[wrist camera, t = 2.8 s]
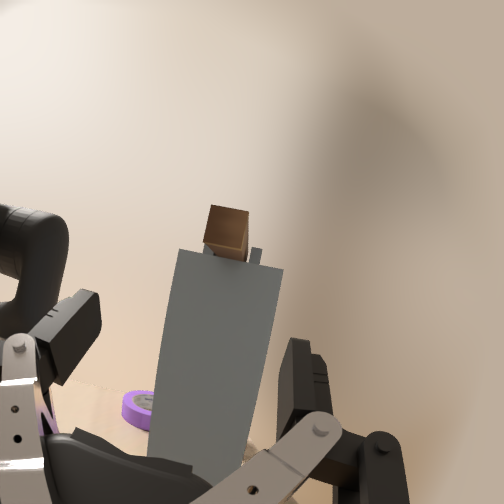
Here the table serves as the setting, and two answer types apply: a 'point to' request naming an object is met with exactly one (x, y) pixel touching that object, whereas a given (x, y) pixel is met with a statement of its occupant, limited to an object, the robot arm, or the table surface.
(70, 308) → the robot arm
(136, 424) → the masking tape
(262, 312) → the pale blue pedestal
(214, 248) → the brown wooden bar
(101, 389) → the table surface
